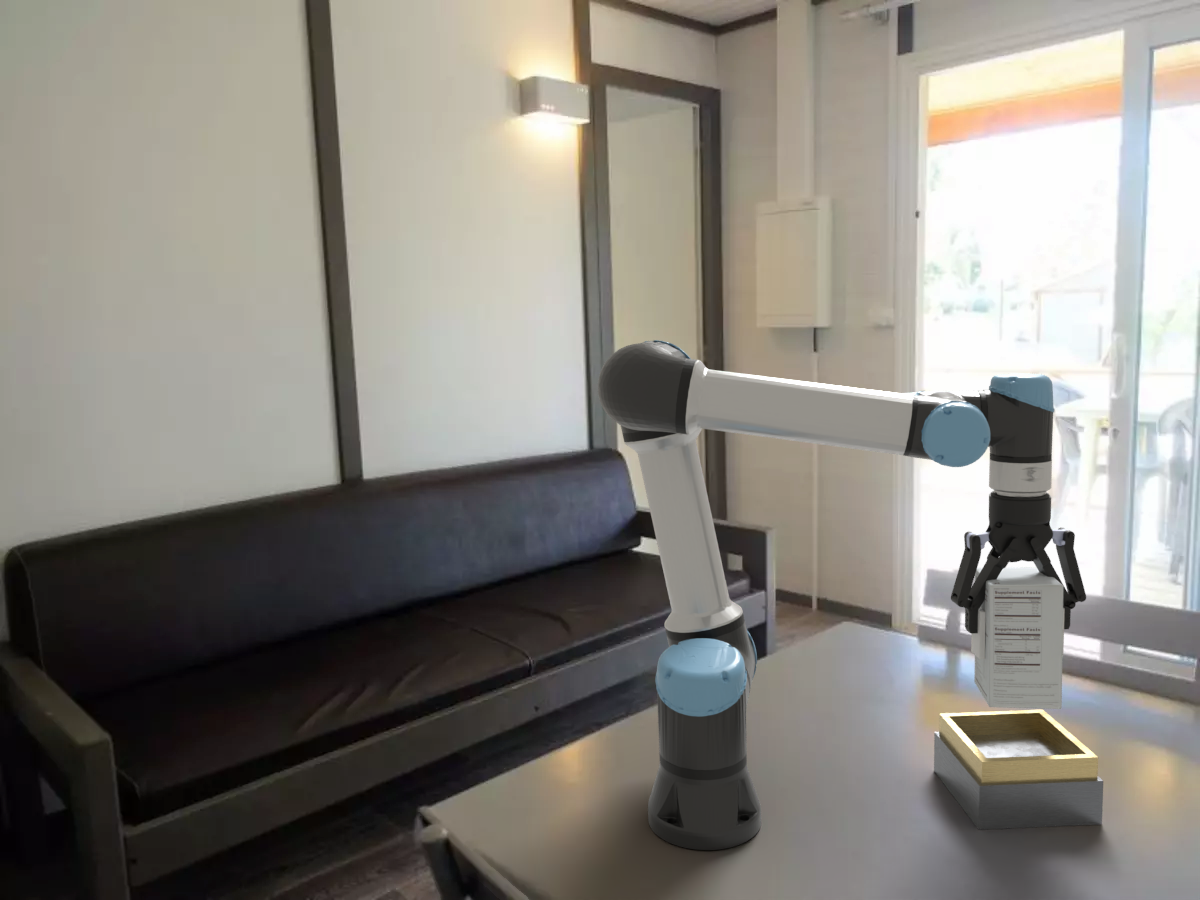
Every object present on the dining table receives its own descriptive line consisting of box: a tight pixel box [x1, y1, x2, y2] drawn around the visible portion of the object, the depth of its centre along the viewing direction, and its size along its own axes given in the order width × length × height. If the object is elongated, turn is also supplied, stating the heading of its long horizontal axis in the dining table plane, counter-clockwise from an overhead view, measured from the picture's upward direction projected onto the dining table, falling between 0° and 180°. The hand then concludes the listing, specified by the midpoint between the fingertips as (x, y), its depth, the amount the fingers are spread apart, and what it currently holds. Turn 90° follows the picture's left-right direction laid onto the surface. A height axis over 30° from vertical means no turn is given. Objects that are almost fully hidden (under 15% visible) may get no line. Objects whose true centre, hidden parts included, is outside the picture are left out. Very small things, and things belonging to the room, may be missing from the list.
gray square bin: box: [933, 709, 1104, 830], centre depth 129 cm, size 16×16×9 cm
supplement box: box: [973, 566, 1064, 710], centre depth 126 cm, size 10×9×17 cm
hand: (1016, 653), depth 126 cm, fingers closed on supplement box, 10 cm apart
